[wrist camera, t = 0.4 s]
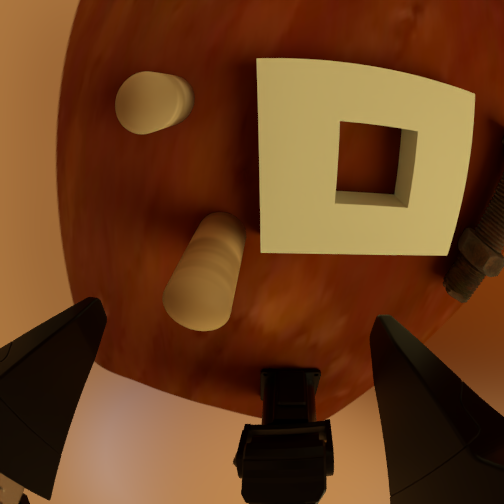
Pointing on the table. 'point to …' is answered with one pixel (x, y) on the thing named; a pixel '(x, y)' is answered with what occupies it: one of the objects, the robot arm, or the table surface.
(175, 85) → the short pin
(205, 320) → the long pin
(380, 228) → the board
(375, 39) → the table surface
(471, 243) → the bolt
